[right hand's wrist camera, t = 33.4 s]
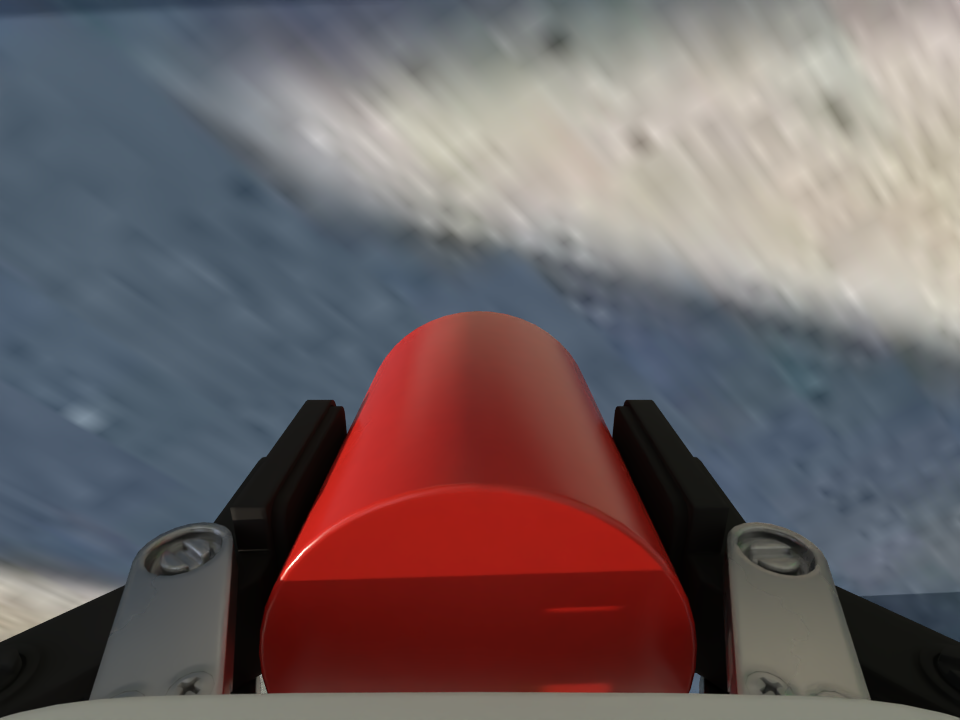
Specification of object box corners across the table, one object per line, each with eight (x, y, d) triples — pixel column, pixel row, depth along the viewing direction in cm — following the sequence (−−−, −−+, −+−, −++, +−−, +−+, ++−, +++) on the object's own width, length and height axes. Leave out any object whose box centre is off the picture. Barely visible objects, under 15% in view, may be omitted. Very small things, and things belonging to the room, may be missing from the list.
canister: (553, 527, 15) (616, 840, 8) (353, 486, 15) (238, 781, 8) (619, 339, 14) (774, 540, 6) (390, 285, 13) (282, 438, 6)
